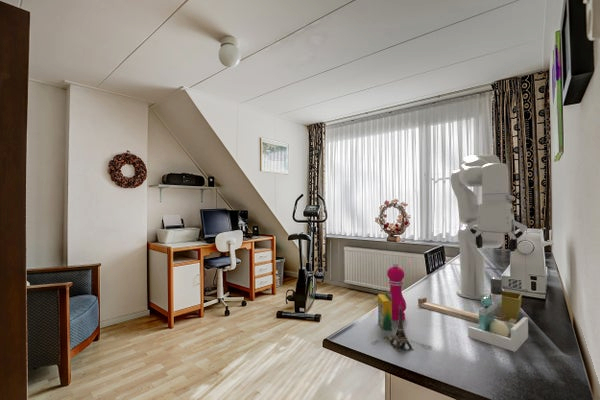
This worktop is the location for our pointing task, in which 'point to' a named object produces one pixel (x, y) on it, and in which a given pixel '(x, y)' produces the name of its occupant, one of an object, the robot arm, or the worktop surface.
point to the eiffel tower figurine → (401, 338)
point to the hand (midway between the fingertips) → (495, 249)
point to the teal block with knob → (491, 306)
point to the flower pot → (510, 304)
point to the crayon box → (385, 311)
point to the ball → (499, 328)
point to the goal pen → (517, 336)
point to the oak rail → (452, 310)
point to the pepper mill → (396, 291)
